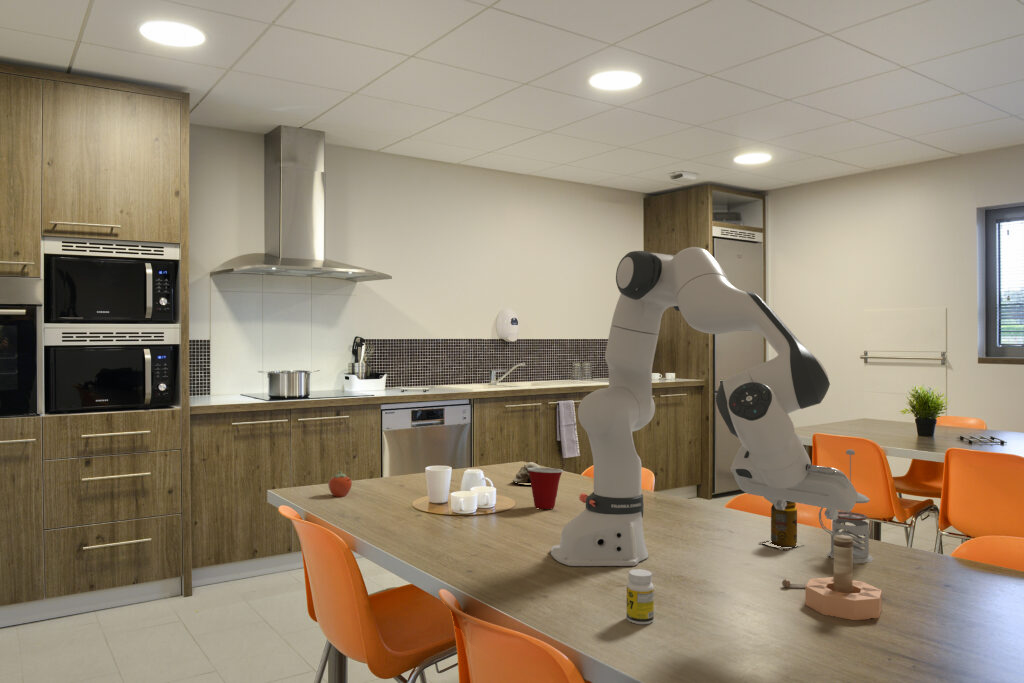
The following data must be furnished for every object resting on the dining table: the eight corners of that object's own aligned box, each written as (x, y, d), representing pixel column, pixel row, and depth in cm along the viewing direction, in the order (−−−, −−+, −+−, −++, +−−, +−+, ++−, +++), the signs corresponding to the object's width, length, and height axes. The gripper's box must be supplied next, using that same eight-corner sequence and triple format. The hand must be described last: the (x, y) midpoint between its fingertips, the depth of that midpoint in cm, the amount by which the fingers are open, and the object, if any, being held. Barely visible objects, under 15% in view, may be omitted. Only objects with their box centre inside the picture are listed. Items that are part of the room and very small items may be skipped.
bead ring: (836, 621, 128) (836, 601, 128) (793, 598, 140) (793, 579, 140) (896, 616, 130) (896, 596, 130) (849, 593, 143) (849, 575, 143)
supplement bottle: (623, 615, 130) (623, 568, 130) (649, 614, 130) (649, 568, 131) (630, 625, 125) (630, 576, 125) (656, 624, 126) (657, 576, 126)
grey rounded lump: (510, 484, 250) (511, 459, 257) (512, 499, 257) (513, 475, 264) (544, 483, 249) (545, 458, 256) (546, 499, 256) (546, 474, 263)
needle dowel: (841, 610, 133) (841, 539, 133) (829, 604, 136) (829, 535, 137) (856, 609, 134) (856, 539, 134) (844, 603, 137) (844, 534, 137)
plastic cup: (569, 506, 219) (569, 467, 219) (551, 513, 210) (552, 472, 210) (538, 502, 225) (538, 463, 225) (520, 508, 216) (520, 468, 216)
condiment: (804, 545, 177) (804, 496, 178) (783, 551, 173) (783, 500, 173) (779, 539, 184) (779, 491, 184) (757, 544, 179) (757, 495, 179)
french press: (871, 565, 161) (871, 453, 161) (815, 557, 167) (815, 449, 168) (875, 555, 170) (876, 448, 170) (822, 547, 176) (823, 444, 176)
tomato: (348, 498, 229) (349, 472, 229) (325, 498, 229) (325, 472, 229) (354, 493, 236) (354, 469, 237) (331, 493, 237) (331, 468, 237)
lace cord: (783, 588, 145) (783, 580, 145) (780, 586, 147) (780, 578, 147) (872, 590, 145) (872, 582, 145) (868, 587, 146) (868, 579, 146)
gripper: (849, 455, 117) (872, 508, 124) (735, 441, 132) (761, 488, 139) (836, 486, 114) (860, 538, 121) (721, 467, 129) (748, 515, 136)
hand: (806, 511), depth 130 cm, fingers open, 8 cm apart
